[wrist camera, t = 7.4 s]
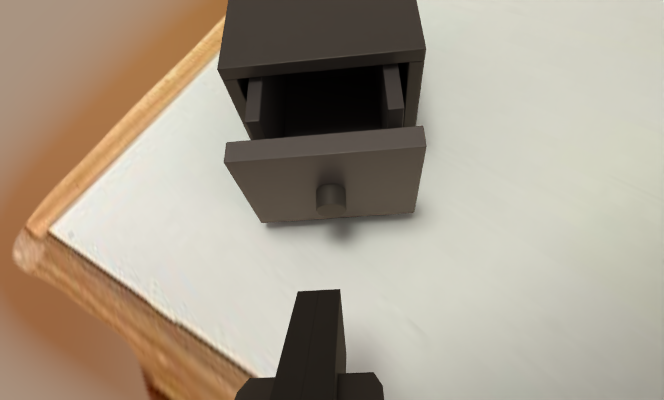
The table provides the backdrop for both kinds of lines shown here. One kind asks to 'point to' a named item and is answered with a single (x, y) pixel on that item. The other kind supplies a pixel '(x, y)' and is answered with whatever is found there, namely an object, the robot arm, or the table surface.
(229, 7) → the dark brown boxy block
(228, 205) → the table surface
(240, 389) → the robot arm
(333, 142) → the drawer
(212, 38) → the table surface
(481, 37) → the table surface
